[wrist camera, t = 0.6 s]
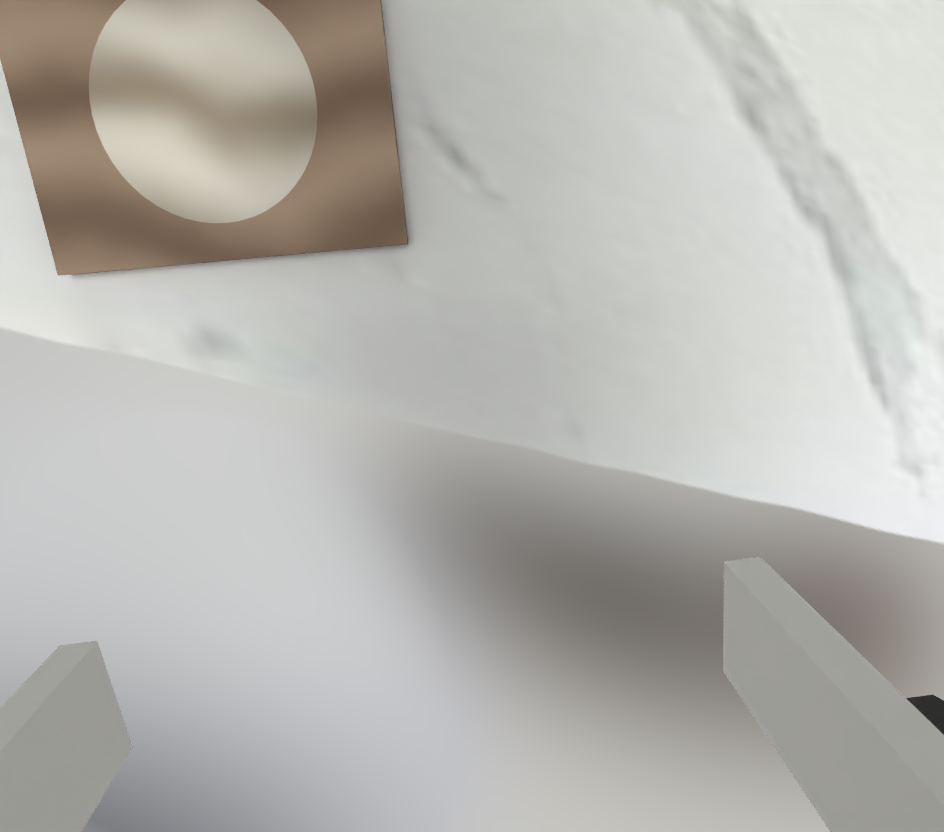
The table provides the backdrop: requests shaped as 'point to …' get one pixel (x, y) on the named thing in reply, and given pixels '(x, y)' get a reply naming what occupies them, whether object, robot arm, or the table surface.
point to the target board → (204, 128)
